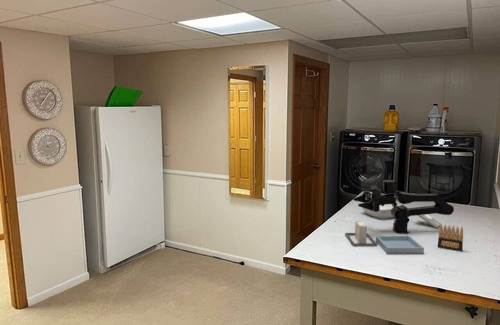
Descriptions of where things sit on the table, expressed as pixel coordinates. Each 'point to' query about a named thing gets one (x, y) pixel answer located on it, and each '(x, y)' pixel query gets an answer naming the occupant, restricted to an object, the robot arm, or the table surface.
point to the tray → (399, 245)
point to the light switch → (430, 220)
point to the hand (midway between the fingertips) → (355, 202)
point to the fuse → (360, 231)
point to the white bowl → (381, 212)
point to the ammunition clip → (451, 238)
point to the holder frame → (360, 243)
